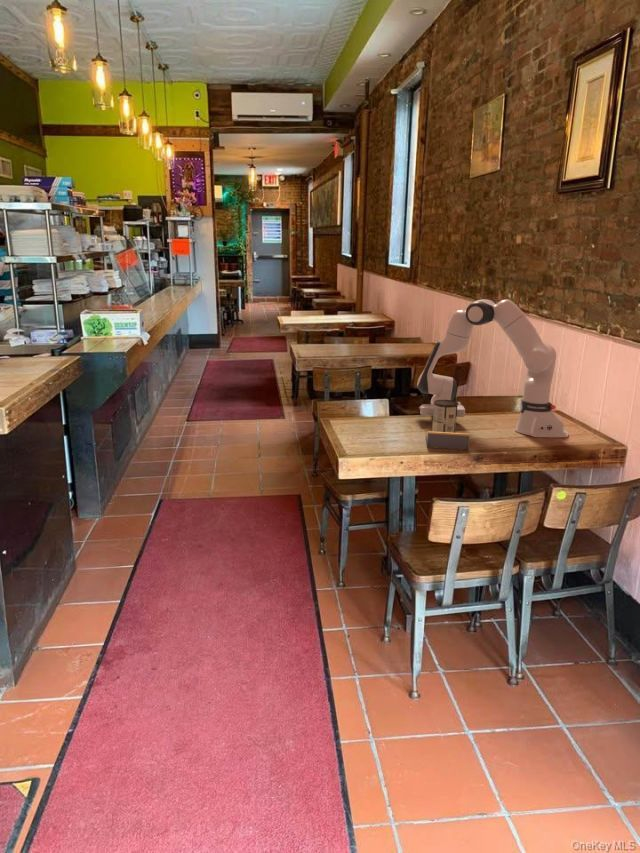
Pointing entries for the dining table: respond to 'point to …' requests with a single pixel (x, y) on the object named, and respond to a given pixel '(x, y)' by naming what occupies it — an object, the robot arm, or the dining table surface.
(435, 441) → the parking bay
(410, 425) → the dining table surface
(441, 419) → the coffee can
